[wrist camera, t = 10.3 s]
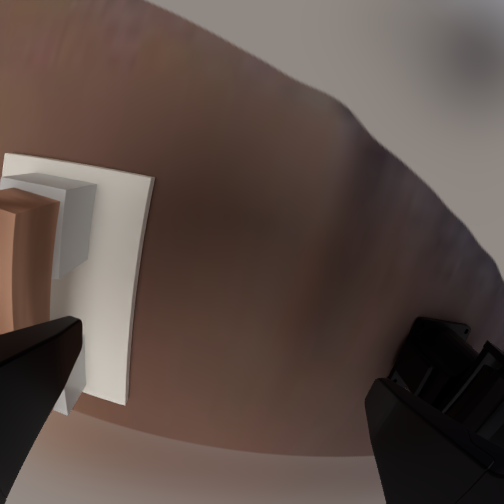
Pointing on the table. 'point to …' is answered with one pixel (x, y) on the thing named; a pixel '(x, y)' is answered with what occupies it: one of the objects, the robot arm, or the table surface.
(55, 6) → the table surface
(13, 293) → the terracotta bar
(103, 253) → the display stand
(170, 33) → the table surface
